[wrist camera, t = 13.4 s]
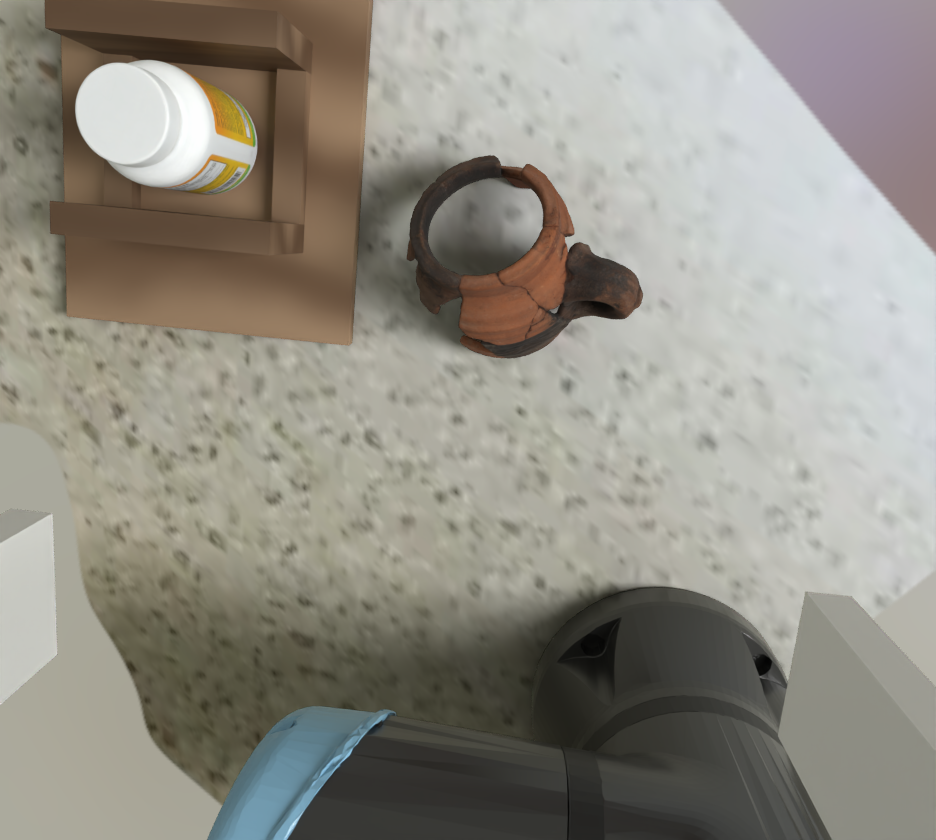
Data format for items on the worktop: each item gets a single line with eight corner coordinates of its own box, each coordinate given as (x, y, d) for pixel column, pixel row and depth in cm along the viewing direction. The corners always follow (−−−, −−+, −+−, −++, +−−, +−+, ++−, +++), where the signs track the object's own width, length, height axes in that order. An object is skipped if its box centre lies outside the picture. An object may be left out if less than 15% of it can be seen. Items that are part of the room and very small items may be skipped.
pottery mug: (419, 358, 45) (369, 296, 38) (461, 211, 48) (422, 125, 40) (629, 394, 42) (622, 335, 34) (665, 235, 44) (665, 145, 36)
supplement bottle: (172, 74, 41) (70, 24, 32) (271, 107, 41) (198, 66, 32) (149, 177, 43) (45, 158, 33) (245, 209, 43) (169, 199, 33)
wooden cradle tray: (352, 343, 45) (321, 361, 38) (76, 314, 46) (-2, 327, 39) (375, -48, 40) (346, -106, 34) (69, -73, 41) (-21, -135, 34)
